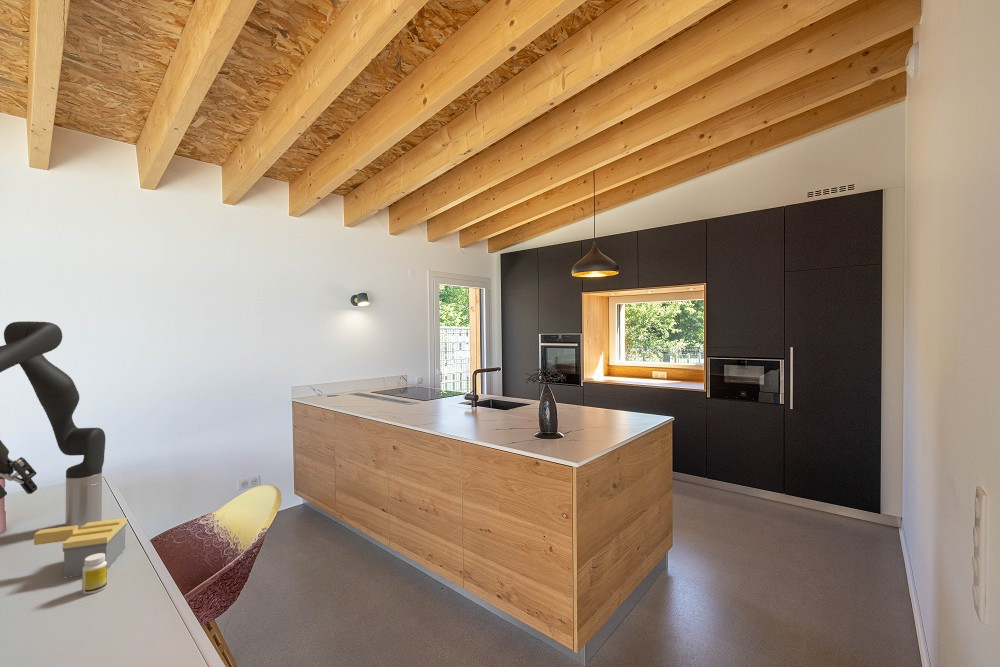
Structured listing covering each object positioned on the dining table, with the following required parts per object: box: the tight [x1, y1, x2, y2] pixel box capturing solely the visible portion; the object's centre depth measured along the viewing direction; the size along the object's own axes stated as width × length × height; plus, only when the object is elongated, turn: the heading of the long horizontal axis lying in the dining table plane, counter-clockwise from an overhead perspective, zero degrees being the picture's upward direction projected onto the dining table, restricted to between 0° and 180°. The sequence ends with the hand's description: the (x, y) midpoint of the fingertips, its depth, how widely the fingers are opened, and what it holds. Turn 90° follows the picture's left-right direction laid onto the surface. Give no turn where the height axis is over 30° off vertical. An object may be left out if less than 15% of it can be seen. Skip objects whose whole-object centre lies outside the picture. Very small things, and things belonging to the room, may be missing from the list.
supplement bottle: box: [81, 553, 108, 595], centre depth 116 cm, size 5×5×8 cm
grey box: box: [62, 523, 127, 578], centre depth 129 cm, size 14×9×8 cm, turn 23°
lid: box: [33, 517, 128, 550], centre depth 128 cm, size 14×18×3 cm
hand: (17, 494), depth 120 cm, fingers open, 8 cm apart
